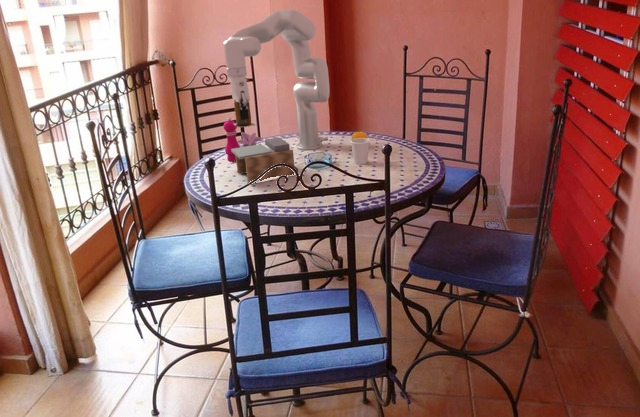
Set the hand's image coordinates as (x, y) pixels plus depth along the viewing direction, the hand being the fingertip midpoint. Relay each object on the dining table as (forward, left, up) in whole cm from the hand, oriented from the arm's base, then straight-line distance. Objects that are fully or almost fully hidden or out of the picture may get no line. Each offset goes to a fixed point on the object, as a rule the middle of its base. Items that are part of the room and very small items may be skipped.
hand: (242, 117), depth 219 cm
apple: (-59, -15, -26) cm, 66 cm away
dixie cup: (-48, +8, -26) cm, 55 cm away
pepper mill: (-1, -30, -26) cm, 40 cm away
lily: (-13, -42, -26) cm, 51 cm away
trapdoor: (-6, 0, -17) cm, 18 cm away
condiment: (0, +1, -3) cm, 3 cm away
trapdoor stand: (-8, 0, -25) cm, 27 cm away
